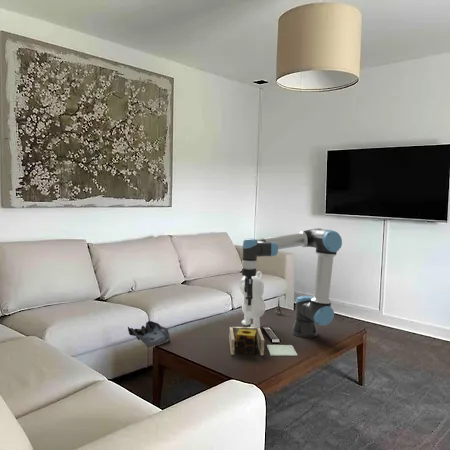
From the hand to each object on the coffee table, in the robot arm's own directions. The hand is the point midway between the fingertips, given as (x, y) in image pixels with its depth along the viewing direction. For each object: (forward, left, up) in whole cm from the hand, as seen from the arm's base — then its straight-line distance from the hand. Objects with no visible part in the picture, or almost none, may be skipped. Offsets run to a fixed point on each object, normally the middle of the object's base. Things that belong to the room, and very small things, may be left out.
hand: (247, 307), depth 225 cm
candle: (0, 0, -24) cm, 24 cm away
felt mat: (-19, 0, -23) cm, 30 cm away
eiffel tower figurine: (-29, -69, -24) cm, 79 cm away
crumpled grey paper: (+53, -11, -24) cm, 59 cm away
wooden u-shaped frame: (0, -4, -23) cm, 24 cm away
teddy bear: (-8, -41, -24) cm, 47 cm away
